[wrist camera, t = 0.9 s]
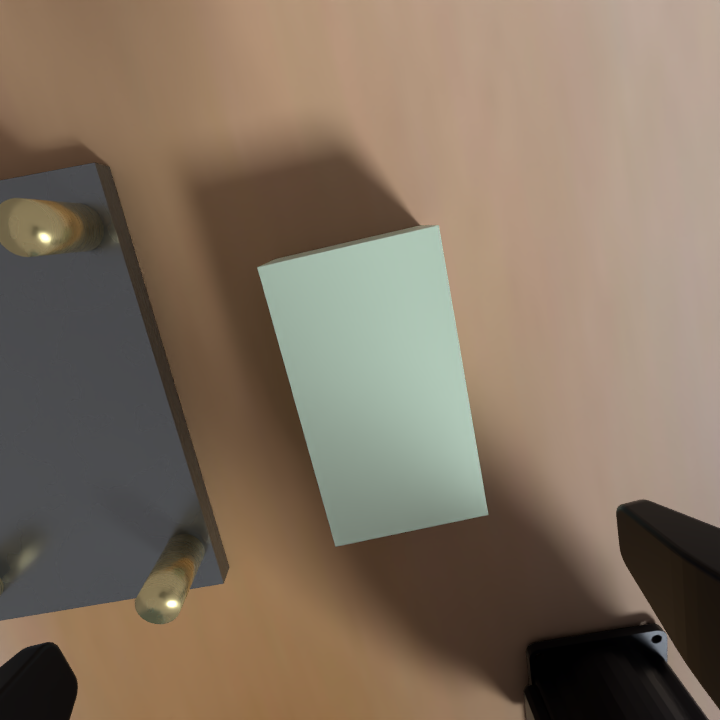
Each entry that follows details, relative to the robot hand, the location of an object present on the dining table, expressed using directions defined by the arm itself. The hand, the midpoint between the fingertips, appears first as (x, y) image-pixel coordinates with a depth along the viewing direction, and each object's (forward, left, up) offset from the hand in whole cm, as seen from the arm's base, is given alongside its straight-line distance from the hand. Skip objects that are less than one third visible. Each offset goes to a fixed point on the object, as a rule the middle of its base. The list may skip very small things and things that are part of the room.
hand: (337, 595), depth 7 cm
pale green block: (-1, 0, -12) cm, 12 cm away
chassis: (+12, 0, -12) cm, 17 cm away
